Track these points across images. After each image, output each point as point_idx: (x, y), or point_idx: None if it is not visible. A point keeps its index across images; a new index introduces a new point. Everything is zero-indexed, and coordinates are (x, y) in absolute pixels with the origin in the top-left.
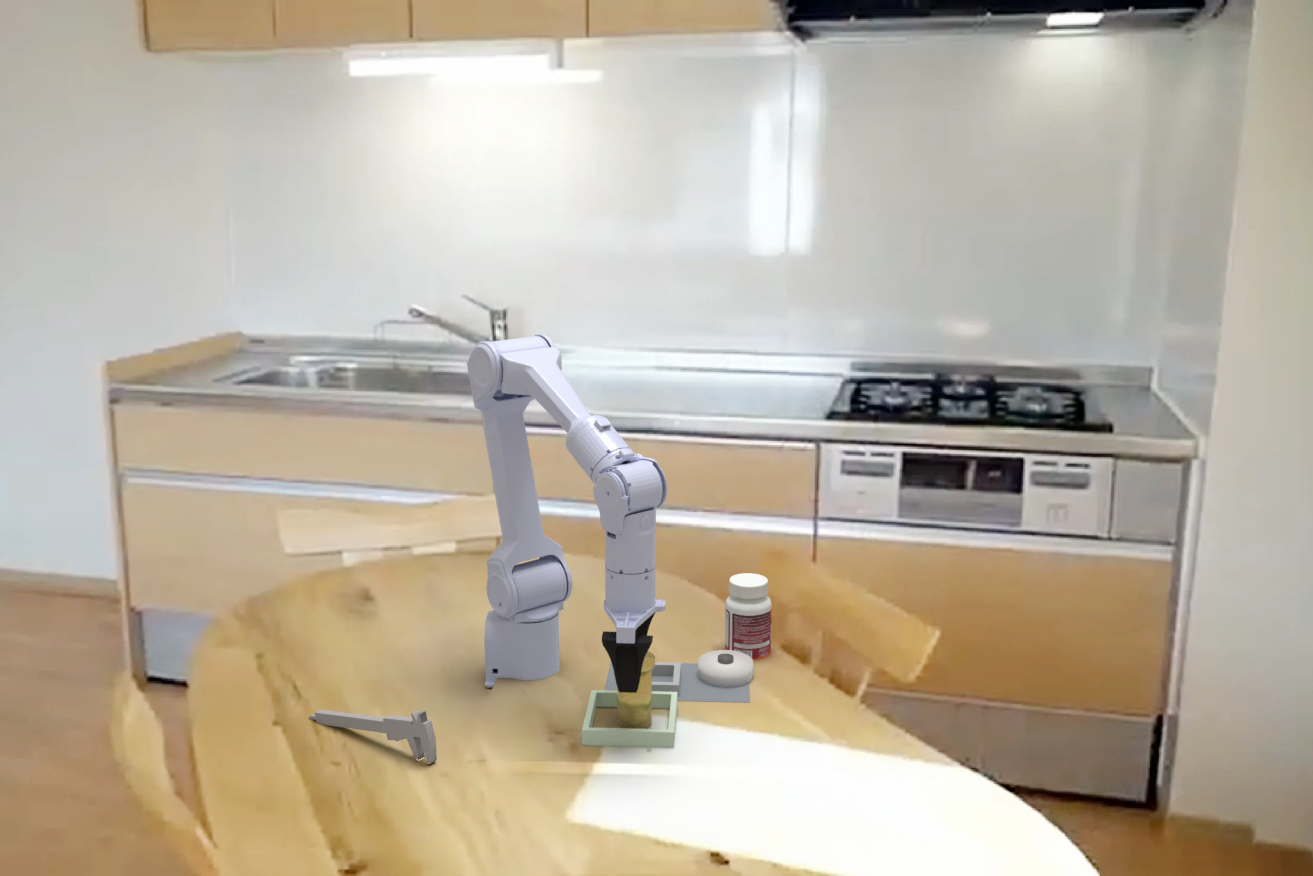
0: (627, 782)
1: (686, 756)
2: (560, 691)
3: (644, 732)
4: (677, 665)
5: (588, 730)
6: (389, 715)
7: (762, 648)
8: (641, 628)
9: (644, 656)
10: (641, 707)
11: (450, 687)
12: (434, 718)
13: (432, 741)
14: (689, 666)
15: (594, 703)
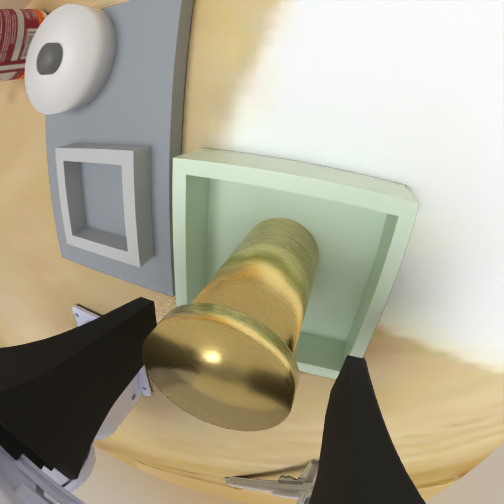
0: (469, 292)
1: (407, 155)
2: None
3: (395, 275)
4: (63, 154)
5: None
6: (273, 494)
7: (25, 14)
8: (72, 380)
9: (415, 490)
10: (307, 283)
11: (156, 413)
12: (225, 440)
13: None
14: (52, 129)
15: None
